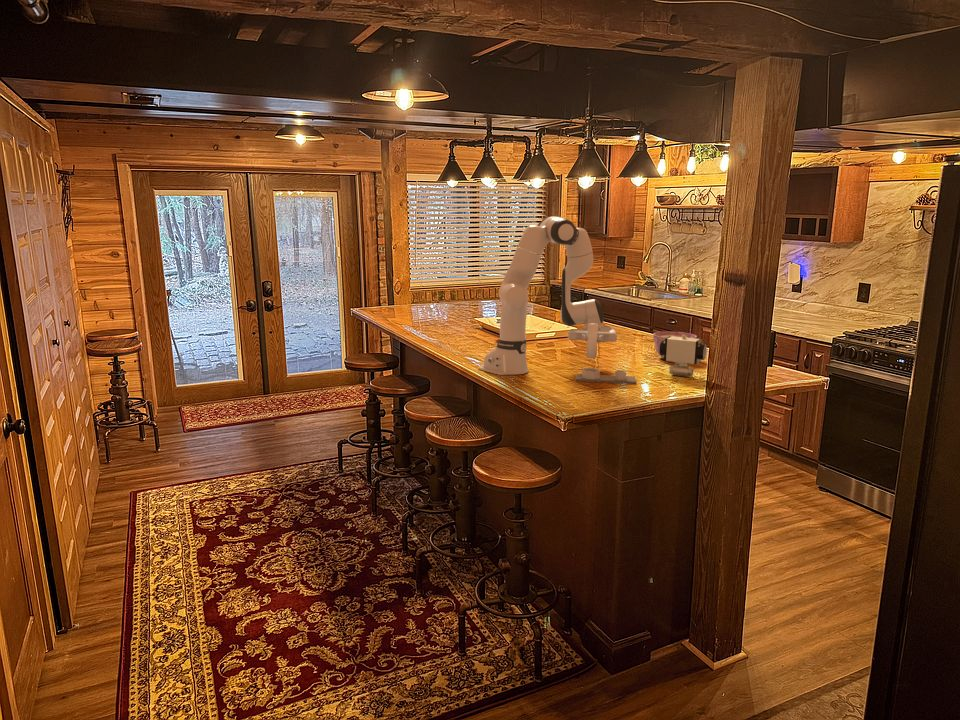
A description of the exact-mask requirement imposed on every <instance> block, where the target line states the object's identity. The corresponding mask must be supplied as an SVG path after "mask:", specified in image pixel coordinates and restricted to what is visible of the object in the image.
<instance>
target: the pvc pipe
mask: <svg viewBox="0 0 960 720" xmlns="http://www.w3.org/2000/svg"><path fill="white" fill-rule="evenodd" d="M597 332H598V324H596V323H589V324H588V338H587V342H586V358H588V359H597V355H598V354H597V351H598V350H597V349H598V343H597Z"/></svg>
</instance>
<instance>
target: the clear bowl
mask: <svg viewBox="0 0 960 720" xmlns="http://www.w3.org/2000/svg"><path fill="white" fill-rule="evenodd" d="M652 335H653V341H654V347H655V351H656V354H657V355H659V356H660V357H663V356H661V355H660V352H659V349H660V343H661V341H662V340H665V338H667V337H669V336H673V337H682V335H686V338H695V339H698V338H697V337H698V335H695V334H694V333H689V332H682V331H657V332H654V333H653V334H652ZM663 358H664V357H663Z"/></svg>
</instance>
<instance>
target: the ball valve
mask: <svg viewBox="0 0 960 720" xmlns="http://www.w3.org/2000/svg"><path fill="white" fill-rule="evenodd" d="M707 350H708V347H707V344H706V343H703V338H696V339H695V338H686V335H682V337H673V336H669V337H667V338H665V340H662V341H661V343H660V349H659V352H660V355H661V356H660V355H659V356H660V357H662V356H663V361H664V362H672V363H674V364H671V365H670V366H669V370H668V371H669V375H672V376H677V377H685V378H689V377H693V375H694V367H693V366H690V365H687V364H691V365H697V364H699V363H700V362H701V361H705V359H706V357H707V352H708V351H707Z"/></svg>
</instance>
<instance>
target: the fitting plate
mask: <svg viewBox="0 0 960 720" xmlns="http://www.w3.org/2000/svg"><path fill="white" fill-rule="evenodd" d="M581 371H582V373H576V375H575V382H581V381H585V383H602V382H609V383H608V384H623V383H626V384H629V385H636V383H637V382H636V376H630V375H628V376H627V371H626V370H623V369H616V370H614V375H612V374H611V375H607V374H606V375H605V374H601V369H599V368H597V367H596V368H595V367H586V368H582V370H581Z"/></svg>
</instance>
